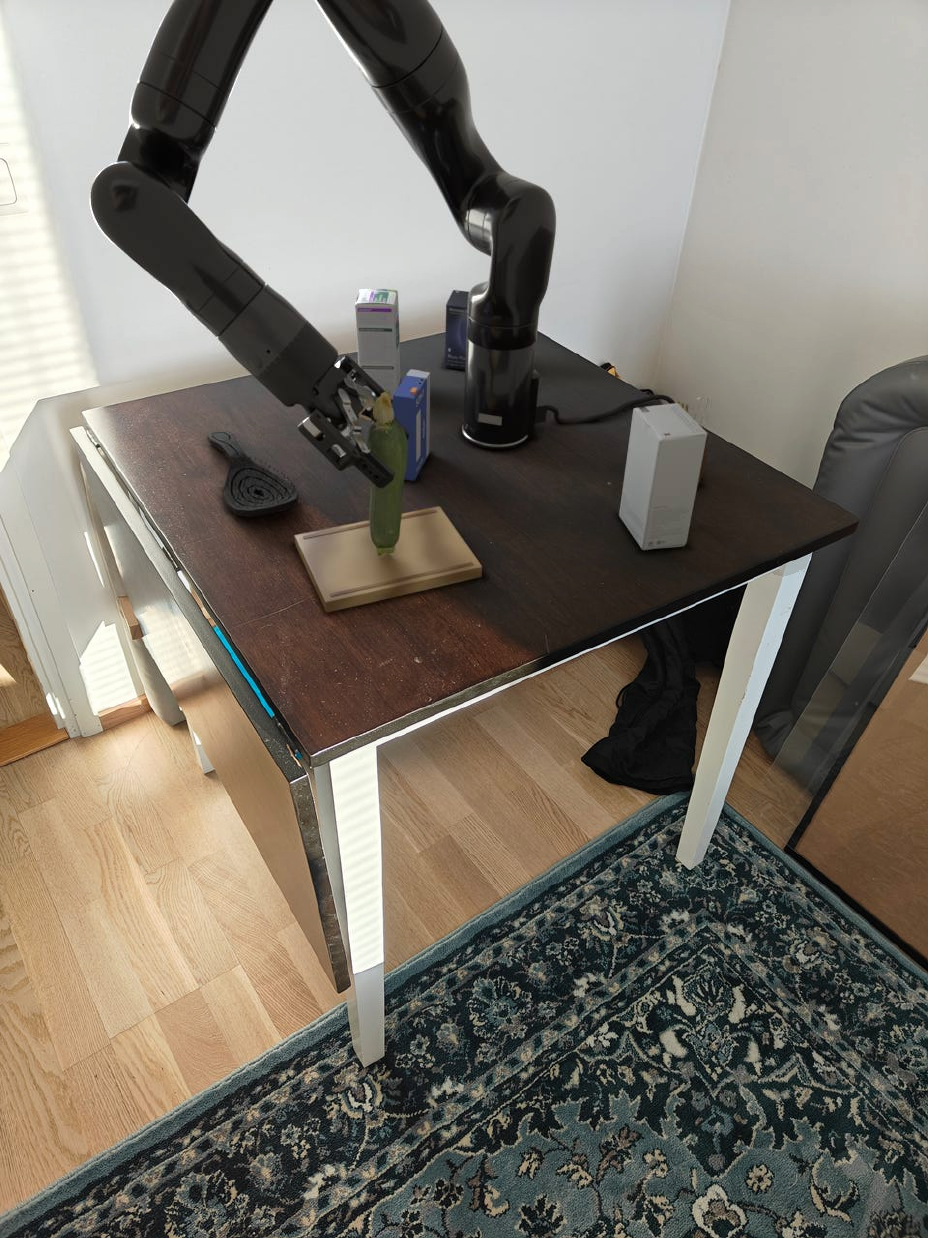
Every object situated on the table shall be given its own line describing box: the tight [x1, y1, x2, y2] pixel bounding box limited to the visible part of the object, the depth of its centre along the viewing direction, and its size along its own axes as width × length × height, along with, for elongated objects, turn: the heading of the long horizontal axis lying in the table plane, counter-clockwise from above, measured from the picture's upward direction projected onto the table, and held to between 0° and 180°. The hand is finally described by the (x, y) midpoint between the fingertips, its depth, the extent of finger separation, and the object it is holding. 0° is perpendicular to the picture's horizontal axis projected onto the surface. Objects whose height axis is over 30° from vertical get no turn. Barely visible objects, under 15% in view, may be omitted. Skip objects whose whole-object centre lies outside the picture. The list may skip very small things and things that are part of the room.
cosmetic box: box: [618, 402, 707, 551], centre depth 101 cm, size 8×6×15 cm
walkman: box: [392, 368, 431, 482], centre depth 112 cm, size 8×3×12 cm, turn 167°
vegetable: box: [365, 391, 408, 557], centre depth 92 cm, size 4×4×20 cm
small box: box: [444, 289, 470, 371], centre depth 137 cm, size 11×6×10 cm, turn 80°
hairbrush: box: [206, 429, 299, 518], centre depth 111 cm, size 8×4×25 cm
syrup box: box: [354, 288, 402, 400], centre depth 127 cm, size 6×6×14 cm
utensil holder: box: [676, 396, 712, 484], centre depth 111 cm, size 6×6×12 cm
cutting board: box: [294, 505, 483, 614], centre depth 99 cm, size 18×13×2 cm
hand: (396, 460), depth 91 cm, fingers open, 8 cm apart
